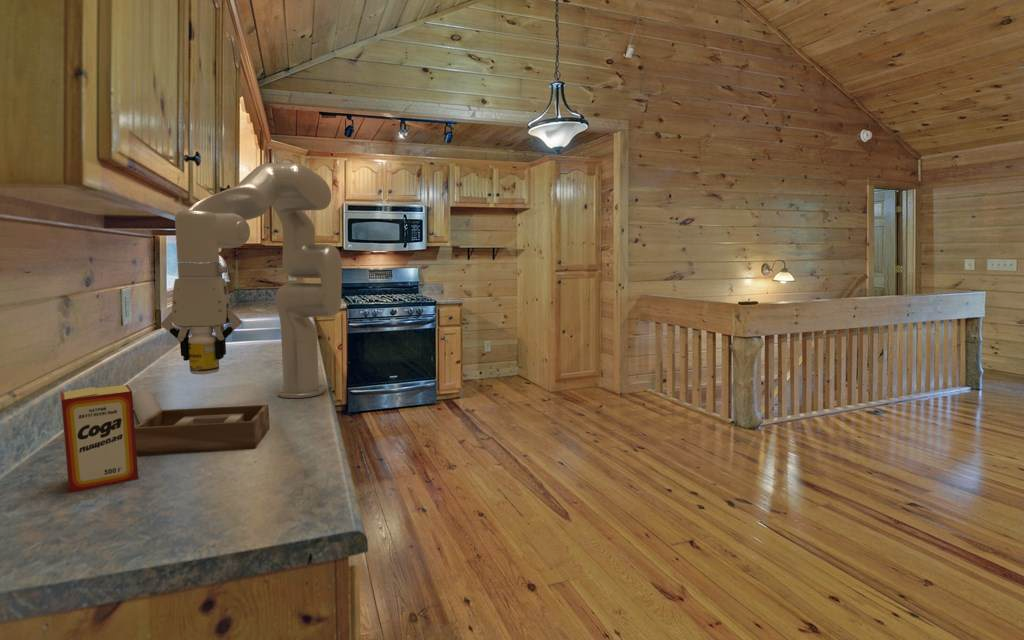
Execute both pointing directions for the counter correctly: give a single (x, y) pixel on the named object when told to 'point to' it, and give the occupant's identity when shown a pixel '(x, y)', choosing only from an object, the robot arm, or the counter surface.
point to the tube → (145, 405)
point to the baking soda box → (99, 436)
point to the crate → (202, 430)
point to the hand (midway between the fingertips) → (204, 358)
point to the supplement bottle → (202, 351)
